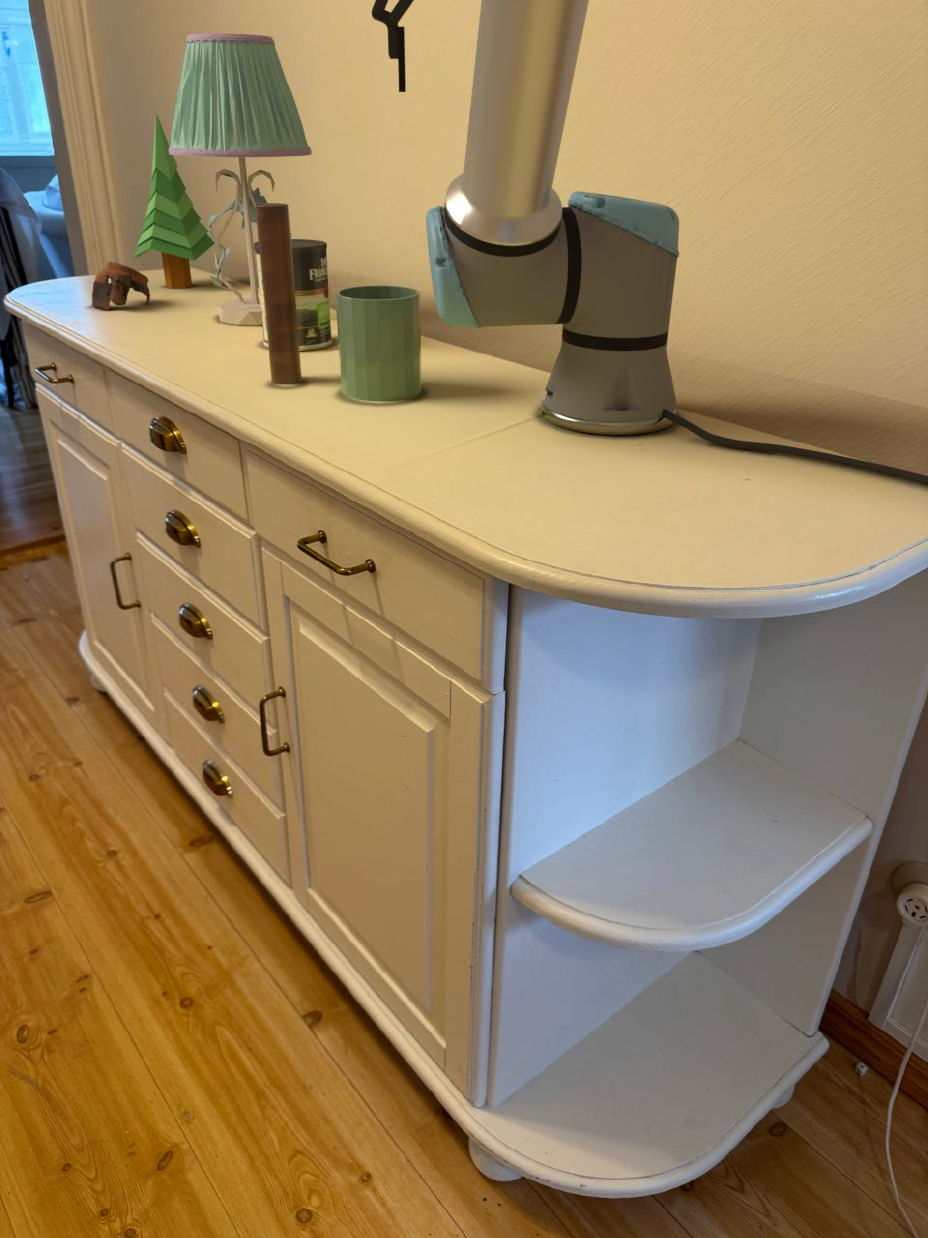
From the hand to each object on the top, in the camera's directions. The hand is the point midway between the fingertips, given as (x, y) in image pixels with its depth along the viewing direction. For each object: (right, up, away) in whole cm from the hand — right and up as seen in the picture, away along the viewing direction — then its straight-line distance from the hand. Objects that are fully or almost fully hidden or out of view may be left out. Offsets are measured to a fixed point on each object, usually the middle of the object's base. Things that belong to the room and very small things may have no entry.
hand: (459, 92), depth 111 cm
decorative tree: (-55, +2, +71) cm, 90 cm away
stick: (-22, -33, +7) cm, 40 cm away
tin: (-10, -35, +4) cm, 37 cm away
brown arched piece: (-60, -8, +52) cm, 79 cm away
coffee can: (-24, -22, +28) cm, 43 cm away
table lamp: (-34, -13, +44) cm, 57 cm away
